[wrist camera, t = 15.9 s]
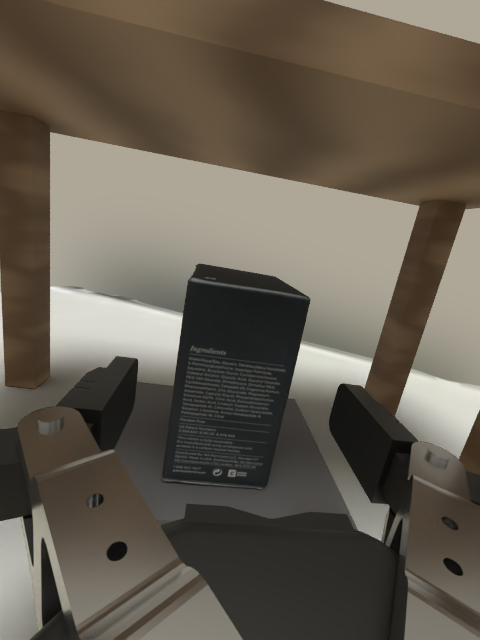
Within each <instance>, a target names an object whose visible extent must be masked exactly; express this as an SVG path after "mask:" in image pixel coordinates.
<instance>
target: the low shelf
mask: <svg viewBox="0 0 480 640" xmlns="http://www.w3.org/2000/svg"><path fill="white" fill-rule="evenodd" d="M50 132H53V133H58V134H63V135H68V136H73V137H78V138H83V139H88V140H93V141H98V142H103V143H108V144H113V145H118V146H123V147H128V148H133V149H138V150H143V151H148V152H153V153H158V154H163V155H168V156H174V157H178V158H183V159H188V160H193V161H199V162H203V163H208V164H213V165H218V166H223V167H228V168H233V169H238V170H243V171H248V172H253V173H258V174H263V175H268V176H273V177H278V178H283V179H288V180H293V181H298V182H303V183H308V184H314V185H318V186H323V187H328V188H333V189H338V190H343V191H348V192H353V193H358V194H363V195H368V196H373V197H379V198H383V199H388V200H393V201H398V202H403V203H408V204H413V205H419V206H420V207H419V210H418V213H417V217H416V220H415V223H414V227H413V230H412V233H411V237H410V240H409V243H408V247H407V250H406V253H405V256H404V260H403V263H402V267H401V270H400V273H399V276H398V280H397V283H396V287H395V290H394V293H393V296H392V300H391V303H390V306H389V310H388V313H387V316H386V320H385V323H384V326H383V329H382V333H381V336H380V339H379V343H378V346H377V349H376V353H375V356H374V359H373V363H372V366H371V369H370V372H369V376H368V379H367V382H366V386H365V390H366V391H367V393H368V394H369V395H370V396H371V397H372V398H373V399H374V400H375V401H377V402H378V403H380V404H381V405H383V406H384V407H385V408H386V409H387V410H388V411H389V412H390V413H391V414H392V415H393V416H394V417H395V414H396V411H397V408H398V405H399V402H400V399H401V396H402V393H403V390H404V387H405V385H406V382H407V379H408V376H409V373H410V370H411V367H412V364H413V361H414V358H415V355H416V352H417V349H418V346H419V343H420V340H421V337H422V334H423V331H424V328H425V326H426V323H427V320H428V317H429V313H430V311H431V308H432V305H433V302H434V299H435V296H436V293H437V290H438V287H439V284H440V281H441V279H442V276H443V273H444V270H445V267H446V264H447V261H448V258H449V255H450V252H451V249H452V246H453V243H454V240H455V237H456V234H457V231H458V228H459V226H460V222H461V220H462V217H463V213H464V211H465V209H472V208H480V44H478V43H475V42H471V41H467V40H464V39H460V38H457V37H453V36H449V35H446V34H442V33H439V32H435V31H431V30H428V29H424V28H421V27H416V26H413V25H410V24H406V23H403V22H399V21H395V20H392V19H388V18H385V17H381V16H377V15H374V14H370V13H367V12H363V11H359V10H356V9H352V8H349V7H345V6H341V5H338V4H334V3H331V2H327V1H324V0H0V269H1V293H2V316H3V340H4V363H5V386H13V387H23V388H33V389H35V388H37V387H38V386H39V385H40V384H41V383H43V382H44V381H45V380H46V379H47V378H48V377H50ZM459 460H460V461H461V462H462V464H463V465H464V467H465V471H468V472H471V473H475V474H478V475H480V410H479V413H478V415H477V418H476V420H475V422H474V425H473V427H472V429H471V432H470V434H469V437H468V439H467V441H466V444H465V446H464V448H463V451H462V453H461V456H460V458H459Z"/></svg>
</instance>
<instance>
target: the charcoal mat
mask: <svg viewBox="0 0 480 640" xmlns="http://www.w3.org/2000/svg"><path fill="white" fill-rule="evenodd" d="M172 397H173V386H167V385H158V384H149V383H139V382H137V384H136V396H135V403H134V407H133V410H132V413H131V415H130V417H129V419H128V422H127V424H126V426H125V428H124V430H123V432H122V434H121V436H120V438H119V440H118V442H117V444H116V446H115V448H114V451H115V452H116V454H117V455H118V457H119V459H120V460H121V462H122V464H123V465H124V467H125V469H126V470H127V472H128V474H129V475H130V477H131V479H132V480H133V482H134V483H135V485H136V487H137V488H138V490H139V492H140V493H141V495H142V497H143V498H144V500H145V502H146V503H147V505H148V507H149V508H150V510H151V512H152V513H153V515H154V517H155V518H156V520H157V522H158V523H159V525H163V524H165V523H168V522H171V521H175V520H179V519H184V516H185V509H186V504H201V505H216V506H229V507H232V508H235V509H239V510H242V511H245V512H249V513H252V514H255V515H259V516H262V517H265V518H270V519H274V518H280V517H285V516H290V515H295V514H300V513H305V512H323V513H338V514H347V515H348V517H349V519H350V521H351V524H352V526H353V528H354V530H357V531H358V529H357V527H356V525H355V523H354V521H353V519H352V517H351V515H350V513H349V511H348V509H347V507H346V505H345V503H344V500H343V498H342V496H341V494H340V492H339V490H338V488H337V486H336V484H335V482H334V480H333V478H332V476H331V474H330V472H329V470H328V467H327V465H326V463H325V461H324V459H323V457H322V455H321V453H320V451H319V449H318V447H317V445H316V443H315V441H314V439H313V436H312V434H311V432H310V430H309V428H308V426H307V424H306V422H305V420H304V418H303V416H302V414H301V412H300V410H299V408H298V406H297V403H296V401H295V399H287V403H286V407H285V411H284V415H283V419H282V423H281V428H280V432H279V437H278V440H277V445H276V449H275V454H274V458H273V462H272V467H271V470H270V475H269V479H268V483H267V486H265V487H264V488H263V489H257V488H244V487H230V486H216V485H201V484H193V483H184V482H172V481H164V480H163V479H162V471H163V464H164V456H165V448H166V439H167V434H168V425H169V418H170V411H171V403H172Z"/></svg>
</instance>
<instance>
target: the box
mask: <svg viewBox="0 0 480 640" xmlns="http://www.w3.org/2000/svg"><path fill="white" fill-rule="evenodd" d="M309 304H310V298H309V297H308V296H306V295H304V294H303V293H301V292H299V291H298V290H296V289H294V288H293V287H291V286H290V285H288V284H286V283H285V282H283V281H281V280H280V279H278V278H276V277H273V276H268V275H263V274H257V273H251V272H245V271H239V270H234V269H229V268H222V267H216V266H211V265H205V264H198V265H196V269H195V271H194V273H193V275H192V276H191V278H190V279H189V280H188V286H187V292H186V299H185V305H184V311H183V319H182V328H181V335H180V343H179V351H178V358H177V366H176V373H175V381H174V386H173V397H172V403H171V411H170V418H169V425H168V434H167V439H166V448H165V456H164V464H163V471H162V479H163V480H164V481H172V482H184V483H193V484H201V485H216V486H230V487H244V488H257V489H263V488H264V487H265V486H267V483H268V479H269V475H270V470H271V467H272V462H273V458H274V454H275V449H276V445H277V440H278V437H279V432H280V428H281V423H282V419H283V415H284V411H285V407H286V403H287V399H288V394H289V390H290V386H291V382H292V377H293V374H294V369H295V365H296V361H297V356H298V352H299V348H300V343H301V338H302V334H303V330H304V326H305V322H306V316H307V312H308V308H309Z"/></svg>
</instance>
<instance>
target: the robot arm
mask: <svg viewBox="0 0 480 640" xmlns="http://www.w3.org/2000/svg"><path fill="white" fill-rule="evenodd" d="M137 372H138V359H136V358H127V357H119V356H116V357H115V359H114V360H113V361H112V362H111V363H110V365H109V366H108V367H107V368H101V367H99V368H97V369H94V370H92V371H90V372H88V373H87V374H86V375H85V376H84V377H83V378H82V379H81V380H80V382H78V383H77V384H76V385H75V386H74V388H72V389H71V390H70V392H69V393H68V394H67V395H66V396H65V397H64V398H63V399H62V400H61V401H60V402H59V403H58V404H57V405H56V406H55V407H48V408H43V409H40V410H37V411H34V412H32V413H30V414H28V415H27V416H25V417H24V418H23V419H22V420H21V421H20V422H19V424H18V427H16V428H10V429H1V430H0V521H3V520H8V519H12V518H17V517H20V518H21V524H22V530H23V535H24V540H25V546H26V551H27V556H28V562H29V567H30V572H31V577H32V583H33V591H34V601H35V611H36V619H37V626H38V632H37V633H36V634H35V635H34V636H33V637H32V638H31V639H30V640H480V475H478V474H475V473H471V472H468V471H465V467H464V465H463V464H462V462H461V461H460V460H459V459H458V458H456V457H455V456H454V455H453V454H451V453H450V452H448V451H446V450H444V449H443V448H441V447H438V446H436V445H433V444H430V443H426V442H419V441H418V440H417V439H416V438H415V437H414V436H413V435H412V434H411V433H410V432H409V431H408V430H407V429H406V428H405V427H404V426H403V425H402V424H401V423H399V421H398V420H397V419H396V418H395V417H394V416H393V415H392V414H391V413H390V412H389V411H388V410H387V409H386V408H385V407H384V406H383V405H381V404H380V403H378V402H377V401H375V400H374V399H373V398H372V397H371V396H370V395H369V394H368V393H367V391H366V390H365V389H364V388H363V387H362V386H359V385H351V384H340V385H339V387H338V390H337V393H336V397H335V400H334V404H333V408H332V411H331V415H330V419H329V427H330V432H331V434H332V436H333V437H334V439H335V441H336V443H337V444H338V446H339V448H340V450H341V451H342V453H343V455H344V456H345V458H346V460H347V462H348V463H349V465H350V467H351V468H352V470H353V472H354V474H355V475H356V477H357V479H358V481H359V482H360V484H361V486H362V487H363V489H364V491H365V493H366V494H367V496H368V498H369V500H370V501H371V503H381V504H389V506H390V507H389V509H388V512H387V515H386V519H385V524H384V530H383V535H382V540H381V541H379V540H377V539H375V538H373V537H371V536H369V535H367V534H365V533H362V532H360V531H357V530H354V528H353V526H352V524H351V521H350V519H349V517H348V515H347V514H338V513H323V512H305V513H300V514H295V515H290V516H285V517H280V518H274V519H270V518H265V517H262V516H259V515H255V514H252V513H249V512H245V511H242V510H239V509H235V508H232V507H229V506H216V505H201V504H186V509H185V516H184V519H179V520H175V521H171V522H168V523H165V524H163V525H161V526H160V525H159V523H158V522H157V520H156V518H155V517H154V515H153V513H152V512H151V510H150V508H149V507H148V505H147V503H146V502H145V500H144V498H143V497H142V495H141V493H140V492H139V490H138V488H137V487H136V485H135V483H134V482H133V480H132V479H131V477H130V475H129V474H128V472H127V470H126V469H125V467H124V465H123V464H122V462H121V460H120V459H119V457H118V455H117V454H116V452H115V451H114V448H115V446H116V444H117V442H118V440H119V438H120V436H121V434H122V432H123V430H124V428H125V426H126V424H127V422H128V419H129V417H130V415H131V413H132V410H133V407H134V403H135V396H136V384H137Z"/></svg>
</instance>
